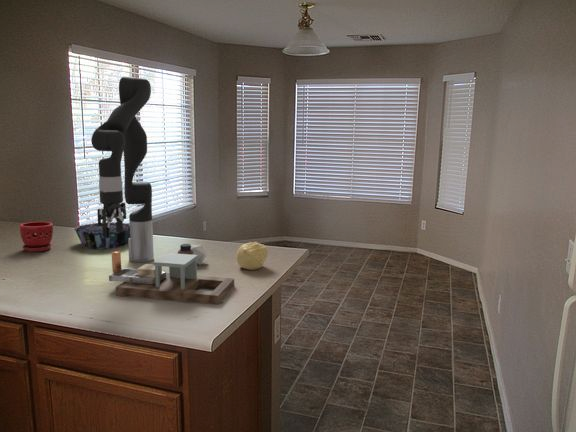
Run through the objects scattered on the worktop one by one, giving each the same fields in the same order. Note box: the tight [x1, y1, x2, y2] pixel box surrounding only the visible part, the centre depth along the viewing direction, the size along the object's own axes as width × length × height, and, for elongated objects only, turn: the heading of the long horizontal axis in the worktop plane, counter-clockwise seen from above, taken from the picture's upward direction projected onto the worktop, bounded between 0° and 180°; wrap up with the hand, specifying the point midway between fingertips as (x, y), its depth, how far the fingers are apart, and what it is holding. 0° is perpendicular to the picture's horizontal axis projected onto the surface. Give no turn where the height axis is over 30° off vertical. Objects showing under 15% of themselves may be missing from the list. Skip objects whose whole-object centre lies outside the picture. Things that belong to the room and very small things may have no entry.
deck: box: [115, 272, 235, 305], centre depth 166 cm, size 36×18×3 cm, turn 80°
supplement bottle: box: [177, 243, 193, 255], centre depth 185 cm, size 6×6×11 cm
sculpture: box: [236, 241, 269, 271], centre depth 194 cm, size 11×12×11 cm
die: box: [190, 244, 207, 266], centre depth 198 cm, size 8×9×10 cm
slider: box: [108, 250, 167, 285], centre depth 167 cm, size 18×9×9 cm, turn 80°
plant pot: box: [19, 221, 54, 253], centre depth 215 cm, size 13×13×12 cm
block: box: [137, 263, 163, 278], centre depth 167 cm, size 6×6×5 cm
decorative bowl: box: [73, 221, 130, 250], centre depth 228 cm, size 26×28×10 cm
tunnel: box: [153, 252, 198, 289], centre depth 165 cm, size 11×12×9 cm
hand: (113, 234), depth 167 cm, fingers open, 8 cm apart
